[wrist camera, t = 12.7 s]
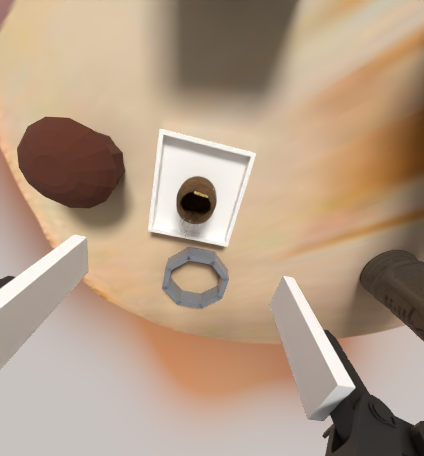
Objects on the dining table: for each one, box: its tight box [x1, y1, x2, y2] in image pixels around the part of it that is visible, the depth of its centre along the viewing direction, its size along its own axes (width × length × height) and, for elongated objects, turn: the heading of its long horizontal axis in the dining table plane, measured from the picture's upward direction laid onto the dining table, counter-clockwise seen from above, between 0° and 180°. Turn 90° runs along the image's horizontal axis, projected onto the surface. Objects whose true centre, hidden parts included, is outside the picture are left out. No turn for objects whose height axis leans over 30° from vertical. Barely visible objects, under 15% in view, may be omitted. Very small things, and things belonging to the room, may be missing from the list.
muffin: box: [17, 117, 125, 208], centre depth 27 cm, size 12×11×10 cm
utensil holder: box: [176, 176, 217, 236], centre depth 27 cm, size 6×6×12 cm
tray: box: [148, 129, 256, 247], centre depth 33 cm, size 16×14×2 cm
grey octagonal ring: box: [162, 247, 229, 308], centre depth 40 cm, size 12×12×3 cm
